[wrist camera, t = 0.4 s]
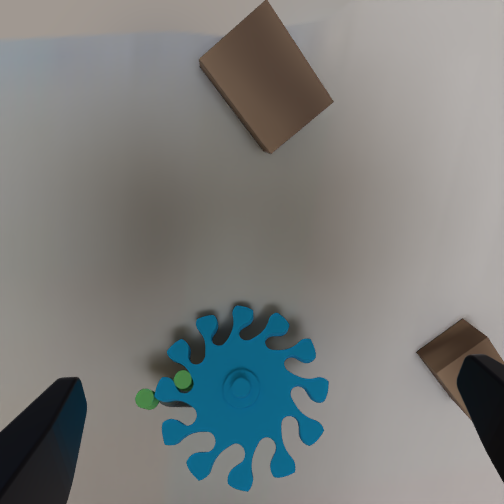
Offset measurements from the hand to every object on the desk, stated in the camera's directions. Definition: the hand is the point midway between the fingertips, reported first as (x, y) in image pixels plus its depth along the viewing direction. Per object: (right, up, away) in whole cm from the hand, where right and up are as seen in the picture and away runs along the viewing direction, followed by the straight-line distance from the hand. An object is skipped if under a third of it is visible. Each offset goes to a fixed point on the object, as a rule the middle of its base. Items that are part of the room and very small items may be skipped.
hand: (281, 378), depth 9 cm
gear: (-2, -4, +17) cm, 18 cm away
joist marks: (+7, +3, +15) cm, 17 cm away
